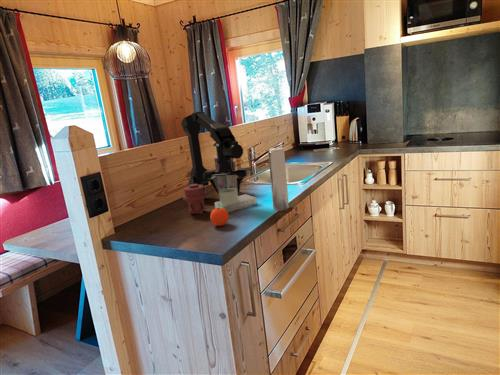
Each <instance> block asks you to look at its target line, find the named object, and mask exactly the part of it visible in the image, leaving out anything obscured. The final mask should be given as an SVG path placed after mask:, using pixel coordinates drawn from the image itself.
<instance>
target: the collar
mask: <svg viewBox="0 0 500 375" xmlns="http://www.w3.org/2000/svg"><path fill="white" fill-rule="evenodd" d="M238 194H239V193H238V189H236V188H227V189H222V190H220V191H219V193H218V195H219V201H220V203H221V204H233V203H236V202H238V196H239V195H238Z"/></svg>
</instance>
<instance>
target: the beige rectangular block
mask: <svg viewBox="0 0 500 375" xmlns="http://www.w3.org/2000/svg"><path fill="white" fill-rule="evenodd" d="M257 204H258V202H257V197H256V196H252V195H250V194H246V193H245V194H241V195H238V202H236V203H233V204H221V203H220V200H218V201H215V202H214V209H215V208H218V207H223V208H224V207H225V208H224V209H225V210H226V209H227V210H226V211H227V212H228V213H232V212H235V211H238V210H241V209H245V208H249V207H252V206H256V205H257Z"/></svg>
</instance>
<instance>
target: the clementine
mask: <svg viewBox="0 0 500 375" xmlns="http://www.w3.org/2000/svg"><path fill="white" fill-rule="evenodd" d="M224 208H225V207H224ZM224 208H223V207H218V208H215V207H214V209H212V211H211V212H210V216H209V218H210V221H211V223H212V224H213V225H215V226H216V227H222V226H224V225H226V224H227V223H228V222H229V212H227V211H226V210H227V209H226V210H225V209H224Z"/></svg>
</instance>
